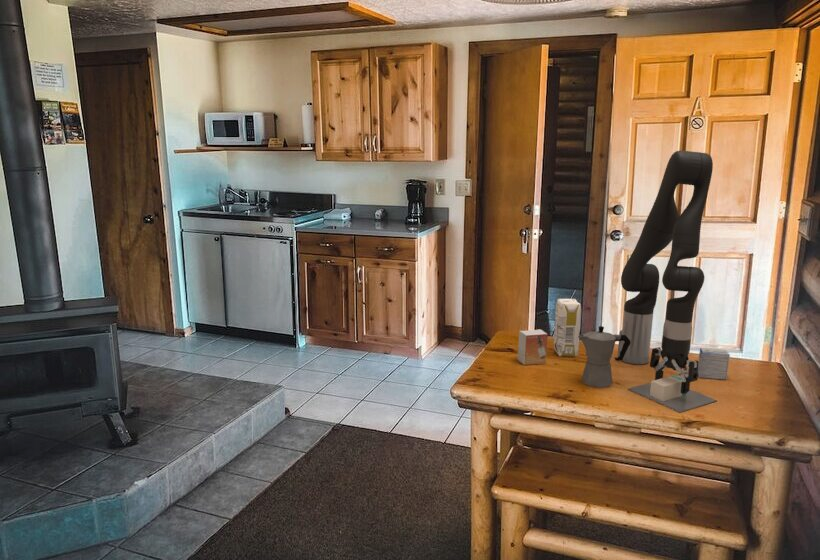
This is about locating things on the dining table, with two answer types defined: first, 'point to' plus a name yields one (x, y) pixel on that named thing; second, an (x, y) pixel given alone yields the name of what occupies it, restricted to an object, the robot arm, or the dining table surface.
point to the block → (666, 388)
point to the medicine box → (713, 363)
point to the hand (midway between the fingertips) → (671, 388)
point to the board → (676, 399)
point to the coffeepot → (600, 356)
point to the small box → (532, 347)
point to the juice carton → (567, 327)
